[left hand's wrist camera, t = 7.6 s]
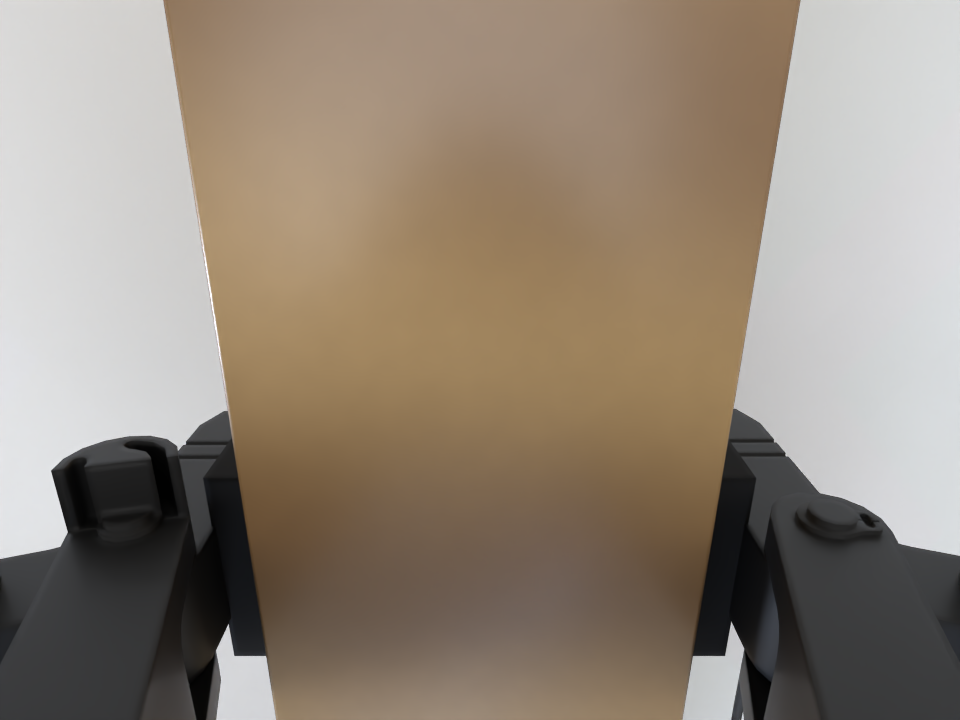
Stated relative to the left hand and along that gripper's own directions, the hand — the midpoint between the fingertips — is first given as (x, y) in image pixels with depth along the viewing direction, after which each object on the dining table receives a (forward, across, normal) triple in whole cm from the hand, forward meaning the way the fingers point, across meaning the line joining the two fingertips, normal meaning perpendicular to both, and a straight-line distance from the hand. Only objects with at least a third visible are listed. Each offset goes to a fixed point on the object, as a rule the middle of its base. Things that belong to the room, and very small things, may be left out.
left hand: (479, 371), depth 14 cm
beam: (0, 0, -25) cm, 25 cm away
